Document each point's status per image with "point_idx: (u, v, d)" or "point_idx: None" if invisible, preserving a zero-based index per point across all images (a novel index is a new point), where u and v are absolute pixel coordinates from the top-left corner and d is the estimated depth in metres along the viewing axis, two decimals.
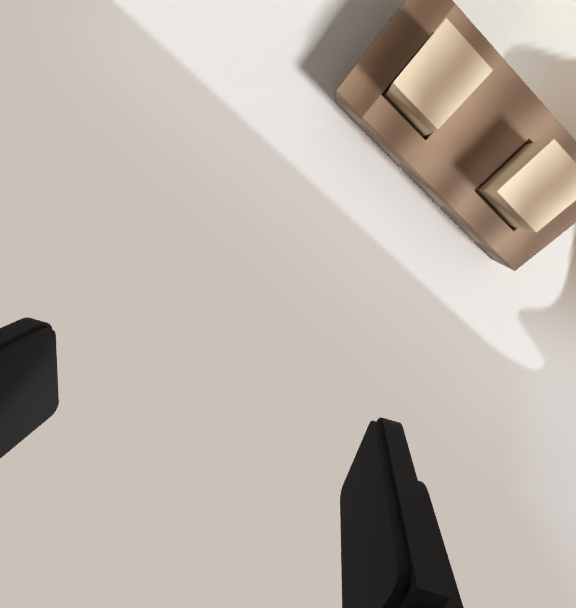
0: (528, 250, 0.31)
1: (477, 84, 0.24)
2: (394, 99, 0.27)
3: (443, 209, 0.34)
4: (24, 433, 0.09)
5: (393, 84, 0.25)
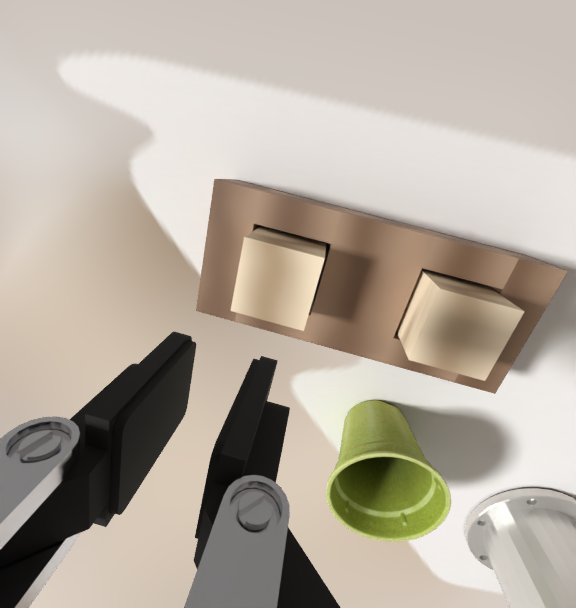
0: (221, 211, 0.23)
1: (417, 344, 0.20)
2: (488, 292, 0.21)
3: (332, 205, 0.26)
4: (170, 434, 0.10)
5: (520, 309, 0.19)
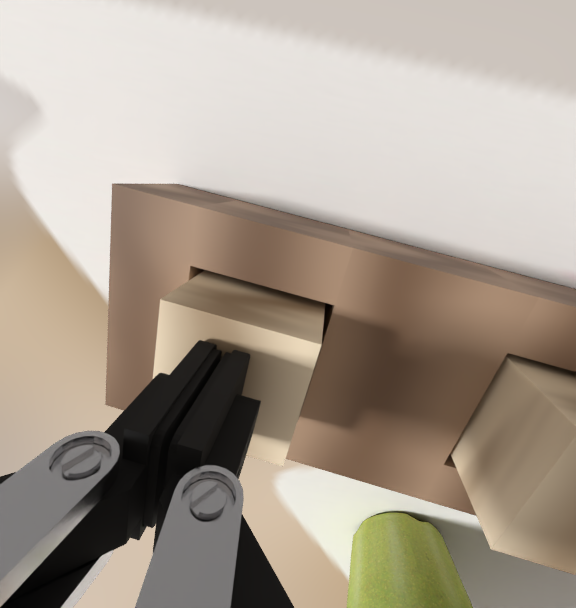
0: (130, 243, 0.12)
1: (513, 524, 0.10)
2: None
3: (337, 227, 0.15)
4: None
5: None
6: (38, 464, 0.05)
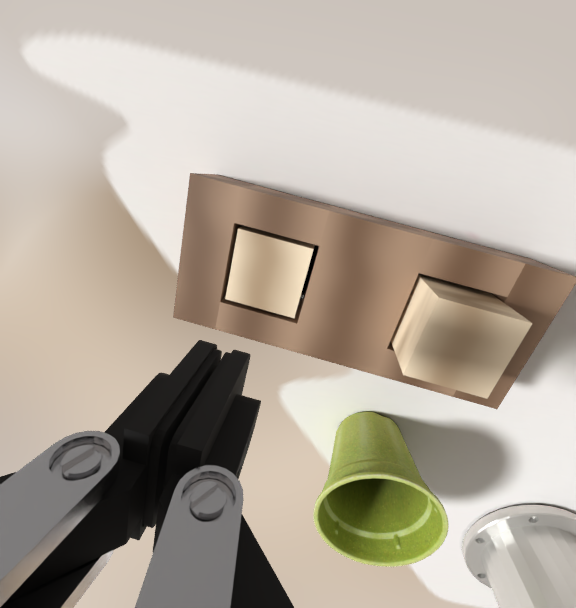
0: (198, 209, 0.20)
1: (413, 357, 0.18)
2: (491, 300, 0.19)
3: (322, 203, 0.23)
4: None
5: (527, 320, 0.17)
6: (38, 464, 0.05)
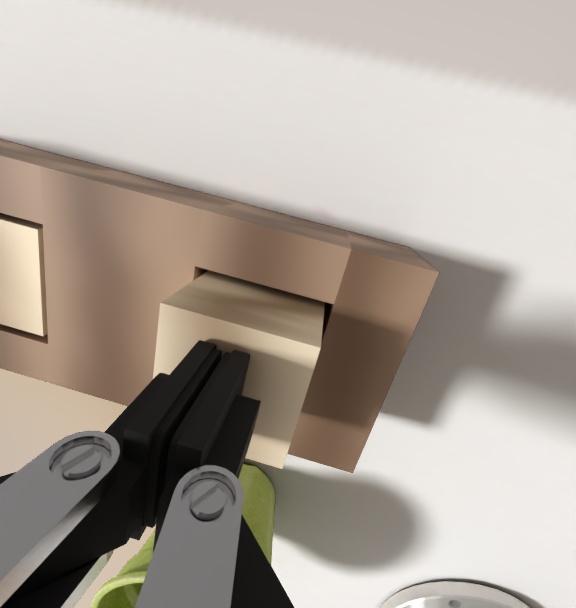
0: None
1: None
2: (301, 306, 0.12)
3: (104, 168, 0.16)
4: None
5: (317, 343, 0.10)
6: (38, 464, 0.05)
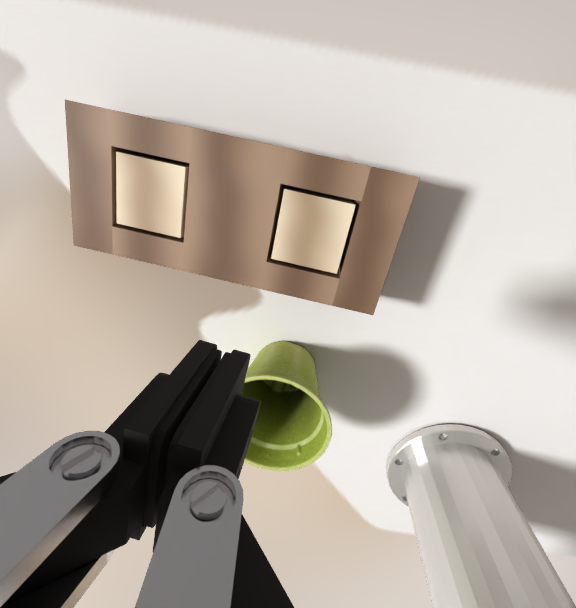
0: (77, 135, 0.22)
1: (275, 242, 0.24)
2: (341, 199, 0.25)
3: None
4: None
5: (353, 204, 0.22)
6: (38, 464, 0.05)
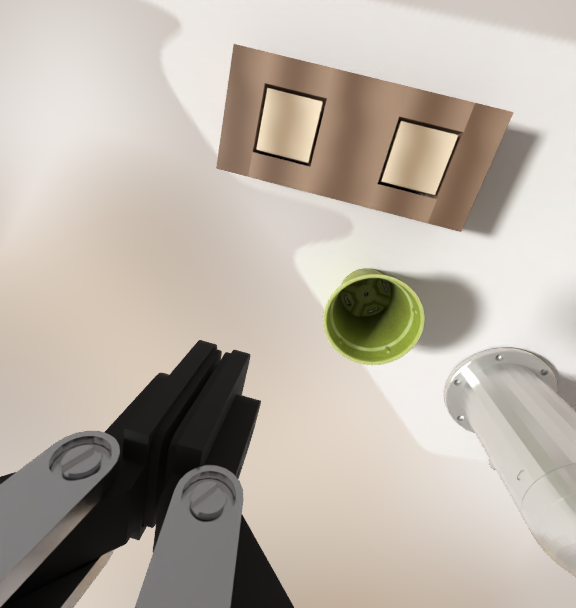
0: (238, 73, 0.28)
1: (387, 167, 0.29)
2: None
3: None
4: None
5: (455, 135, 0.28)
6: (38, 464, 0.05)
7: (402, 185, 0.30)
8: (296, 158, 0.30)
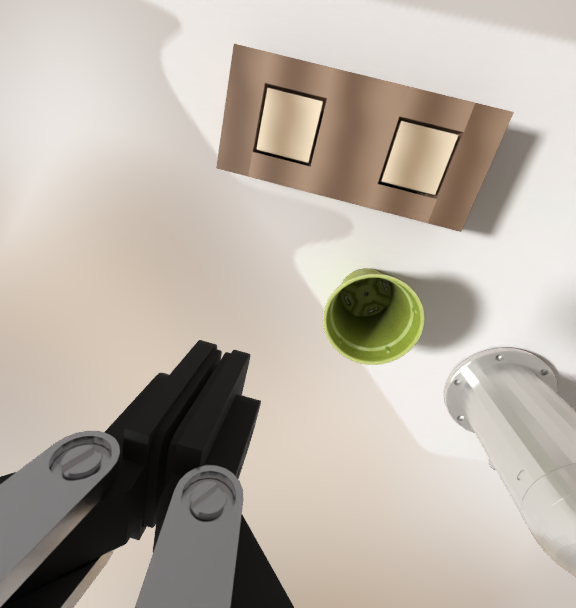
0: (238, 73, 0.28)
1: (387, 167, 0.29)
2: None
3: None
4: None
5: (456, 135, 0.28)
6: (38, 464, 0.05)
7: (402, 185, 0.30)
8: (296, 158, 0.30)
